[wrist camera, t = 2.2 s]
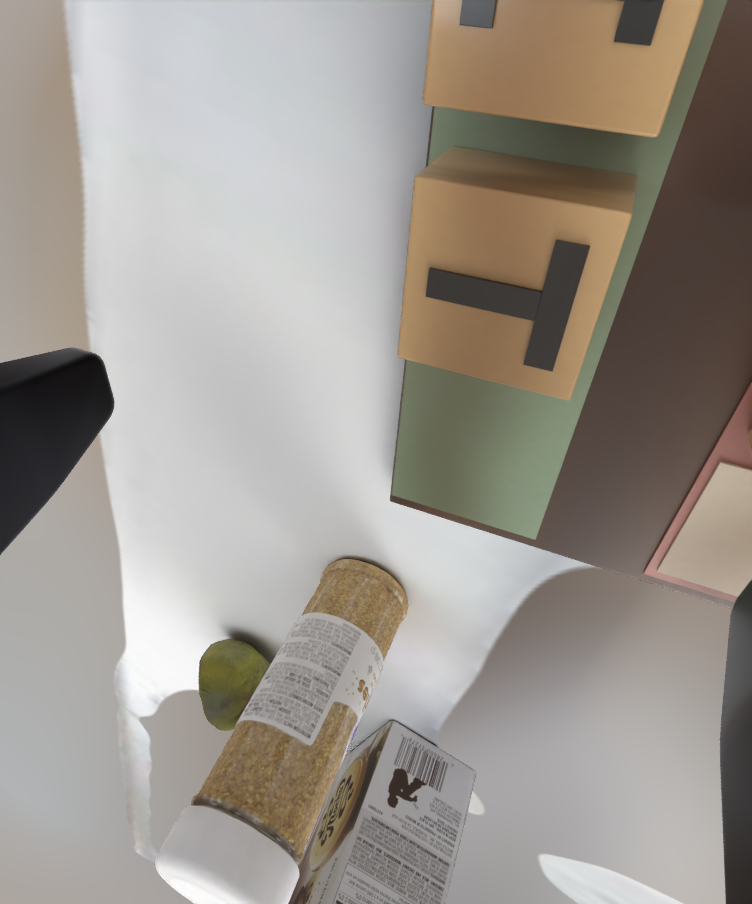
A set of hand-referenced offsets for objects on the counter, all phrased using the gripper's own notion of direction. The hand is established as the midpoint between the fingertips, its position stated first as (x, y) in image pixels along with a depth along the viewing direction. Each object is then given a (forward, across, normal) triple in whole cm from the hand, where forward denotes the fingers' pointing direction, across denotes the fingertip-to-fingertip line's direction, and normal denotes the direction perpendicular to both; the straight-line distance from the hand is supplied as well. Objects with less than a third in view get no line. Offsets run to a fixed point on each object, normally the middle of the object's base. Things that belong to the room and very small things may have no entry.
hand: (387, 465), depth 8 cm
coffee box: (+11, 0, +35) cm, 37 cm away
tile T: (+10, 0, +1) cm, 10 cm away
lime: (+11, +11, +28) cm, 32 cm away
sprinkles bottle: (+11, +4, +18) cm, 22 cm away
